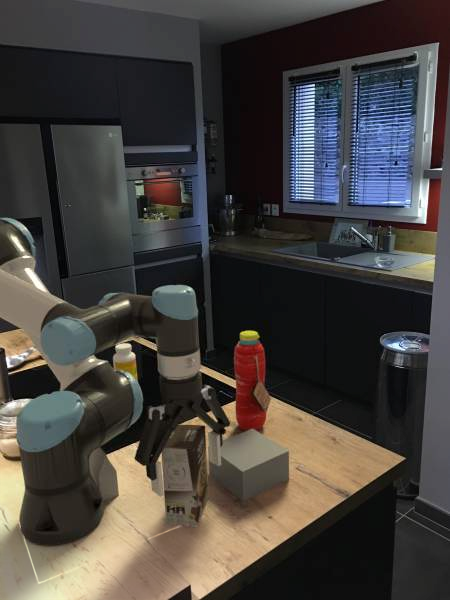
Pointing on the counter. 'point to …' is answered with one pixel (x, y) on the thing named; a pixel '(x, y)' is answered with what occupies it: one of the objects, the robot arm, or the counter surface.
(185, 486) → the coffee box
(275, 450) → the riser block
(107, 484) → the white carton
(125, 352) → the supplement bottle
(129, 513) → the counter surface
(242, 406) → the water bottle
